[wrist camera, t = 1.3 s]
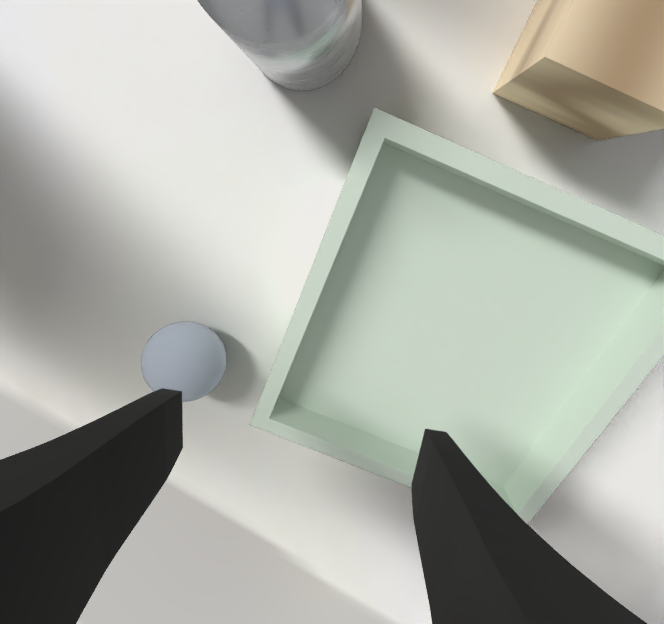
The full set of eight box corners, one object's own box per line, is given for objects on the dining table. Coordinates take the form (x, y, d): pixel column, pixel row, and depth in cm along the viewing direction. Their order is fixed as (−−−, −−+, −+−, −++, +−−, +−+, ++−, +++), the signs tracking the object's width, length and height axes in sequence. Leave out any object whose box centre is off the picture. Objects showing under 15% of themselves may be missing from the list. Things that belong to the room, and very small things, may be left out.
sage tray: (684, 255, 17) (734, 266, 15) (505, 494, 23) (522, 530, 20) (372, 118, 17) (374, 107, 14) (261, 398, 22) (249, 425, 19)
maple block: (674, 9, 15) (821, -73, 10) (596, 140, 16) (691, 123, 12) (559, -46, 14) (654, -157, 10) (492, 93, 16) (544, 56, 11)
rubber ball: (245, 327, 20) (219, 361, 17) (225, 387, 22) (195, 430, 18) (176, 299, 20) (132, 326, 16) (159, 361, 22) (115, 399, 18)
